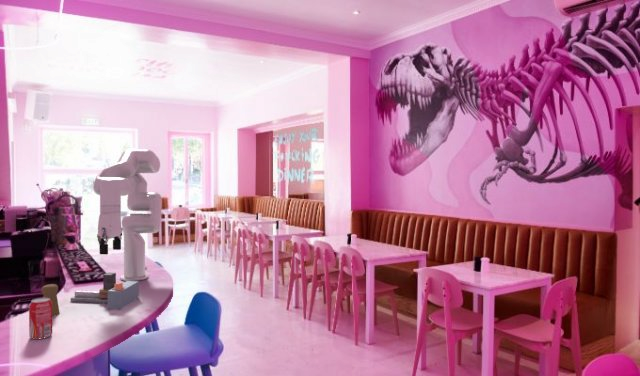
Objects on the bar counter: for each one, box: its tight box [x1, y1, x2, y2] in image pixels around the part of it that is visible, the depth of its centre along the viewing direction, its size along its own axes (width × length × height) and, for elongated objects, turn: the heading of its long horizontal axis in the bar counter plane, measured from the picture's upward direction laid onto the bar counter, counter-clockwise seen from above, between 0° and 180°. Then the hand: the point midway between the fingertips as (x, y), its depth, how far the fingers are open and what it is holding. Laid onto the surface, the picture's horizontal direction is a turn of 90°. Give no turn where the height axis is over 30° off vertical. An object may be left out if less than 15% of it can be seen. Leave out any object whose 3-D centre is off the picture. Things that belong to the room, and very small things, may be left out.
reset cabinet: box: [107, 280, 140, 310], centre depth 176 cm, size 15×5×7 cm, turn 176°
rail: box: [70, 290, 108, 304], centre depth 179 cm, size 6×19×4 cm, turn 86°
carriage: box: [98, 272, 117, 298], centre depth 178 cm, size 4×6×9 cm
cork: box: [41, 283, 60, 318], centre depth 161 cm, size 6×6×11 cm
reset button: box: [114, 282, 124, 290], centre depth 172 cm, size 3×3×6 cm
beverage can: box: [28, 297, 53, 340], centre depth 140 cm, size 6×6×12 cm
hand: (110, 251), depth 177 cm, fingers open, 9 cm apart
